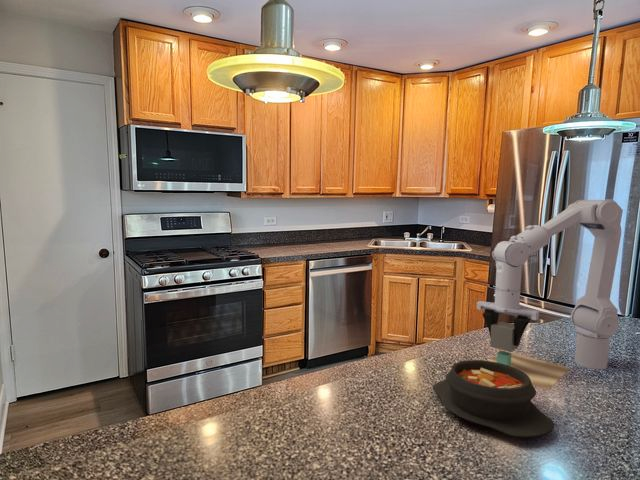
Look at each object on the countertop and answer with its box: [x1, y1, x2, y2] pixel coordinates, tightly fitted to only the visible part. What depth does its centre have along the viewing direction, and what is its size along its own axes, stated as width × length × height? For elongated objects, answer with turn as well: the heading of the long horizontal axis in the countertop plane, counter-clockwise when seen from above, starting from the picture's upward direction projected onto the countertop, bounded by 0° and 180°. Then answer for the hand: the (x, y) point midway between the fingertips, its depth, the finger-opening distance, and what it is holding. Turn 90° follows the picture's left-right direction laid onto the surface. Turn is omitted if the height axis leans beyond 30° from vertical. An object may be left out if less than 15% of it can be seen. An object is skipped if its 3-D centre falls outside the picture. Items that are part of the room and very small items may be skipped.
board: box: [487, 352, 571, 390], centre depth 107 cm, size 18×17×1 cm
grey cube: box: [489, 320, 520, 353], centre depth 106 cm, size 5×5×6 cm
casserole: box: [432, 359, 555, 438], centre depth 85 cm, size 25×19×8 cm
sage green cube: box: [496, 350, 512, 366], centre depth 106 cm, size 3×3×4 cm
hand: (504, 342), depth 106 cm, fingers closed on grey cube, 5 cm apart
